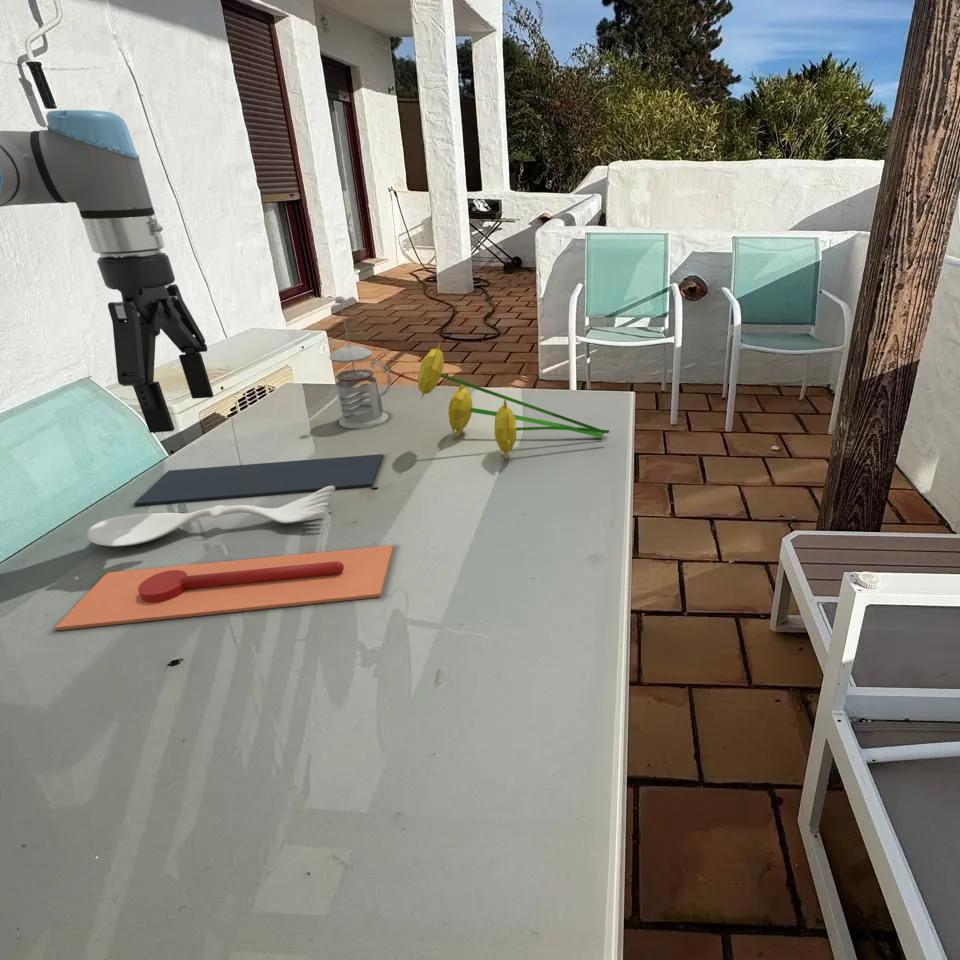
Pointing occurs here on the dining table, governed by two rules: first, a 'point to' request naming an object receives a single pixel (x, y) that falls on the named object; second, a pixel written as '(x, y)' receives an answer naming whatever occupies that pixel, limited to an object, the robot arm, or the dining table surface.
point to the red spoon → (226, 579)
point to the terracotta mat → (232, 589)
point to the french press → (368, 410)
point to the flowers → (504, 417)
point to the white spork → (160, 524)
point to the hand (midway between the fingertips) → (184, 413)
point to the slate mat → (262, 479)
